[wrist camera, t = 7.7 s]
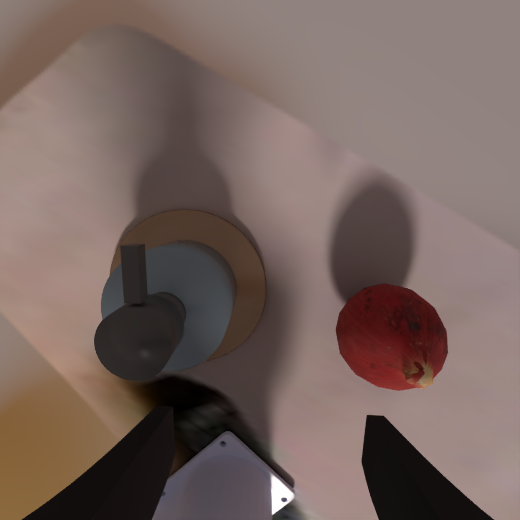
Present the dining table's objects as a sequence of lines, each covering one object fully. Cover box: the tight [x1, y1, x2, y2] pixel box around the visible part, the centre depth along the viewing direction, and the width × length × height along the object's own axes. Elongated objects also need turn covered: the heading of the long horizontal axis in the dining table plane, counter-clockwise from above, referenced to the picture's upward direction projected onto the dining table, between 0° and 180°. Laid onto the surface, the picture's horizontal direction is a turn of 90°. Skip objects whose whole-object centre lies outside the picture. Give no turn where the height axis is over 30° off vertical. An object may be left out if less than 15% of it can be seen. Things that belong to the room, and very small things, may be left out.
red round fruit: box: [336, 284, 448, 391], centre depth 16 cm, size 6×6×8 cm
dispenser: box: [101, 210, 266, 371], centre depth 18 cm, size 11×11×6 cm
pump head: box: [94, 243, 184, 381], centre depth 13 cm, size 5×5×3 cm
